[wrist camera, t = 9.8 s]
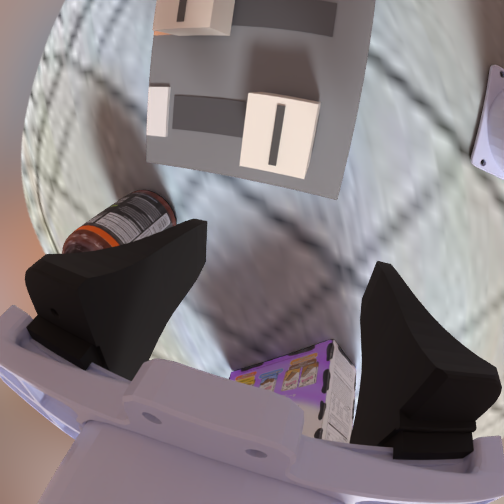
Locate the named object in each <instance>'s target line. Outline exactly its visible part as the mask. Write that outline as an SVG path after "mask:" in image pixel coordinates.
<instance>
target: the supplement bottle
mask: <svg viewBox="0 0 504 504" xmlns="http://www.w3.org/2000/svg"><path fill="white" fill-rule="evenodd" d="M175 225H176V220H175V216H174V213H173V211H172V209H171V207H170V206H169V204H168V203H167V202H166V201H165V200H164V199H163V198H162V197H160V196H159V195H157V194H156V193H153V192H151V191H147V190H138V191H135V192H132V193H131V194H129V195H127V196H125V197H124V198H122V199H120V200H119V201H117V202H116V203H114V204H113V205H111V206H110V207H108V208H107V209H105V210H104V211H102V212H101V213H99V214H98V215H96V216H95V217H93V218H92V219H91V220H89V221H88V222H86V223H85V224H84V225H82V226H81V227H79V228H78V229H77V230H75V231H74V232H73V233H72V234H71V235H69V237H68V238H67V239H66V241H65V243H64V245H63V251H62V254H69V253H80V252H88V251H95V250H100V249H105V248H110V247H115V246H119V245H123V244H126V243H130V242H133V241H136V240H139V239H142V238H144V237H147V236H150V235H153V234H155V233H158V232H160V231H163V230H165V229H168V228H170V227H173V226H175Z"/></svg>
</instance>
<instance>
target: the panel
mask: <svg viewBox="0 0 504 504" xmlns="http://www.w3.org/2000/svg"><path fill="white" fill-rule="evenodd" d="M374 8H375V0H235V4H234V11H233V18H232V24H231V31H230V36H219V35H192V36H177V35H173V34H168V33H163V32H159V31H154V38H153V46H152V56H151V66H150V78H149V92H148V110H147V141H146V162H148V163H155V164H162V165H168V166H175V167H181V168H187V169H193V170H199V171H205V172H210V173H216V174H221V175H226V176H232V177H237V178H242V179H247V180H252V181H257V182H261V183H266V184H271V185H275V186H280V187H284V188H289V189H293V190H298V191H302V192H306V193H310V194H314V195H319V196H323V197H327V198H331V199H334V200H337V199H338V195H339V191H340V187H341V183H342V179H343V175H344V171H345V166H346V162H347V158H348V154H349V149H350V145H351V140H352V136H353V131H354V126H355V122H356V117H357V112H358V107H359V102H360V97H361V91H362V86H363V81H364V75H365V69H366V63H367V57H368V51H369V45H370V38H371V31H372V24H373V16H374ZM252 92H266V93H273V94H280V95H286V96H291V97H297V98H302V99H307V100H312V101H317V102H321V105H320V110H319V116H318V121H317V127H316V132H315V137H314V143H313V148H312V153H311V158H310V163H309V167H308V169H307V172H306V175H305V178H304V179H301V178H296V177H292V176H287V175H283V174H278V173H274V172H269V171H264V170H259V169H254V168H249V167H243V166H239V165H240V156H241V148H242V139H243V131H244V123H245V115H246V108H247V100H248V93H252Z"/></svg>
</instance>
